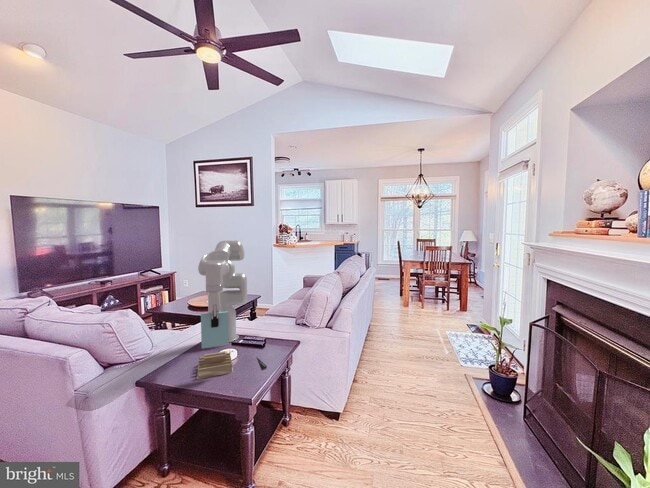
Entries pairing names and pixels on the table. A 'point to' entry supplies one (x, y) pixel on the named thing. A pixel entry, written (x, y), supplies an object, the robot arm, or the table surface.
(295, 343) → the table surface
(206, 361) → the offcut
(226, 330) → the tall sheet
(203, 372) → the rack
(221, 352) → the offcut
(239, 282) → the robot arm
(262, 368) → the phone
